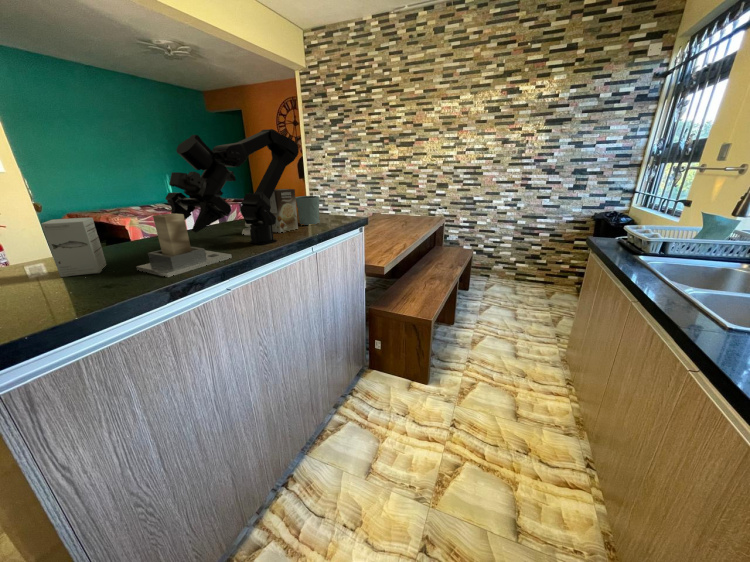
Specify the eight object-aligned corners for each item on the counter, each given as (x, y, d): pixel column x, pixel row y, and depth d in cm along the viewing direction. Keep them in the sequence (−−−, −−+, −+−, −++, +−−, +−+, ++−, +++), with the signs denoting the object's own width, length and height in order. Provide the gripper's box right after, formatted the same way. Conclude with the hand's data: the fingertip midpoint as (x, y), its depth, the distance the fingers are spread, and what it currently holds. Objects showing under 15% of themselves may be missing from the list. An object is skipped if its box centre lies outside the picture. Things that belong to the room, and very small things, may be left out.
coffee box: (280, 233, 118) (275, 190, 113) (270, 231, 122) (264, 189, 116) (298, 229, 125) (295, 188, 120) (288, 228, 129) (284, 188, 123)
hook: (225, 222, 111) (231, 209, 115) (245, 244, 120) (250, 231, 124) (242, 218, 109) (248, 205, 113) (262, 241, 118) (266, 228, 122)
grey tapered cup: (325, 223, 139) (323, 196, 135) (312, 227, 131) (310, 198, 127) (306, 221, 143) (304, 195, 139) (293, 225, 135) (290, 197, 130)
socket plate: (202, 253, 91) (200, 239, 90) (231, 257, 86) (229, 243, 85) (137, 270, 76) (132, 254, 74) (167, 277, 71) (163, 260, 70)
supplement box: (59, 278, 71) (38, 223, 66) (71, 269, 77) (52, 218, 72) (100, 273, 74) (82, 220, 69) (108, 265, 80) (92, 216, 76)
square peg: (182, 258, 82) (171, 213, 78) (193, 260, 80) (183, 214, 76) (164, 263, 78) (152, 215, 74) (176, 265, 76) (164, 216, 72)
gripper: (163, 160, 81) (129, 208, 75) (212, 159, 73) (178, 212, 68) (197, 189, 90) (169, 233, 85) (243, 191, 83) (216, 240, 77)
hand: (181, 230), depth 78 cm, fingers open, 9 cm apart
